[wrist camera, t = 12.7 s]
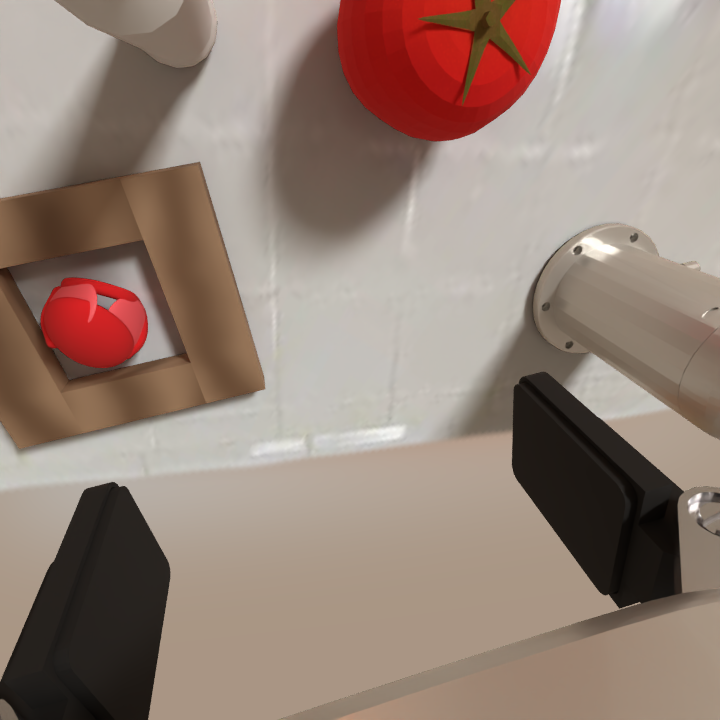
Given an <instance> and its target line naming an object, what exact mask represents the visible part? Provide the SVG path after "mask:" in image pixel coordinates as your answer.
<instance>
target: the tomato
mask: <svg viewBox="0 0 720 720" xmlns="http://www.w3.org/2000/svg"><path fill="white" fill-rule="evenodd" d="M560 4H561V0H341V1H340V8H339V16H338V23H337V34H338V52H339V56H340V60H341V65H342V69H343V73H344V75H345V77H346V79H347V81H348V83H349V86H350V88H351V90H352V92H353V93H354V94H355V96H356V97H357V98H358V99H359V100H360V102H361V103H362V104H363V105H364V106H365V108H367V109H368V110H369V111H370V112H372V113H373V114H374V115H376V116H377V117H378V118H379V119H381V120H382V121H384V122H385V123H387V124H388V125H390V126H391V127H393V128H394V129H396V130H398V131H400V132H402V133H404V134H406V135H408V136H410V137H414V138H419V139H424V140H429V141H447V140H454V139H458V138H461V137H464V136H467V135H470V134H472V133H475V132H476V131H478V130H479V129H481V128H482V127H484V126H485V125H487V124H488V123H490V122H491V121H493V120H494V119H496V118H497V117H498V116H500V115H501V114H502V113H504V112H505V111H506V110H508V109H509V108H510V107H511V106H512V105H513V104H514V103H515V102H516V101H517V100H518V99H519V98H520V97H521V96H522V95H523V94H524V92H525V91H526V89H527V88H528V86H529V85H530V83H531V82H532V81H533V79H534V78H535V76H536V75H537V72H538V70H539V68H540V66H541V64H542V62H543V60H544V58H545V56H546V54H547V52H548V49H549V46H550V43H551V40H552V37H553V34H554V31H555V27H556V22H557V18H558V13H559V9H560Z"/></svg>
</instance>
